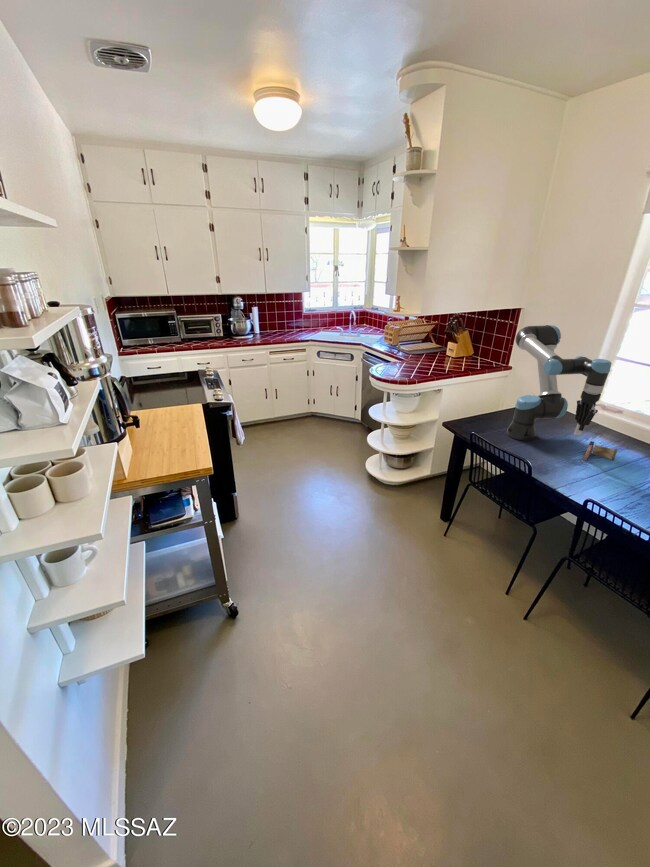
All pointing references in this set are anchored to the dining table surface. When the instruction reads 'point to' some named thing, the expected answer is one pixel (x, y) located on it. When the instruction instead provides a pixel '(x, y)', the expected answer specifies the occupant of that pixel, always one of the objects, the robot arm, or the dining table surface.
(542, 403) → the robot arm
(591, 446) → the hinged fence panel
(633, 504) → the dining table surface
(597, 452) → the fence post and fixed panel
